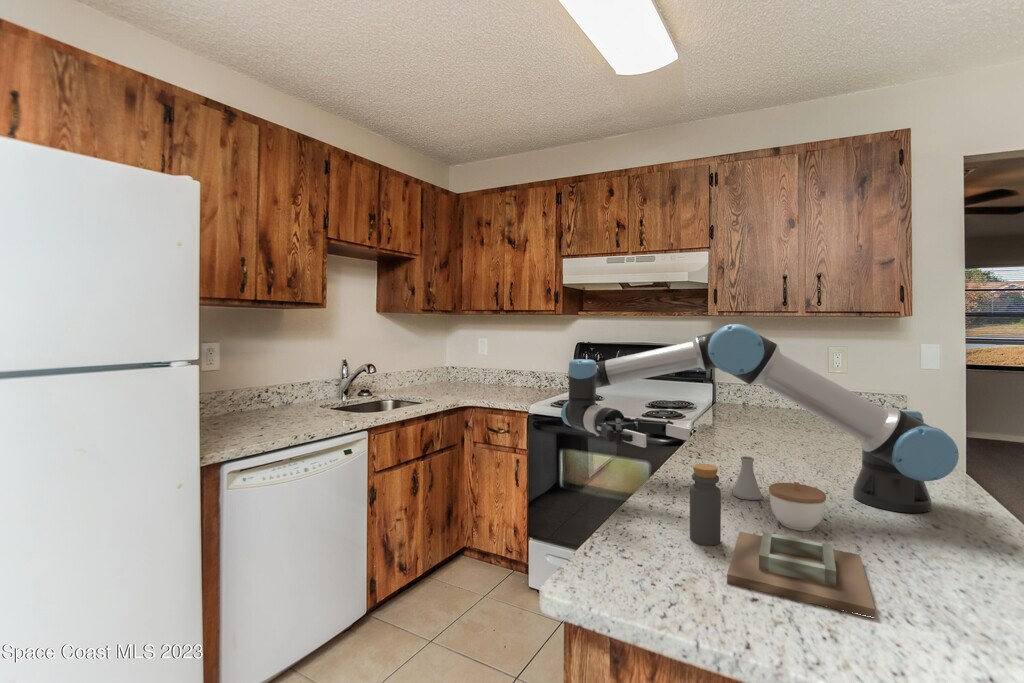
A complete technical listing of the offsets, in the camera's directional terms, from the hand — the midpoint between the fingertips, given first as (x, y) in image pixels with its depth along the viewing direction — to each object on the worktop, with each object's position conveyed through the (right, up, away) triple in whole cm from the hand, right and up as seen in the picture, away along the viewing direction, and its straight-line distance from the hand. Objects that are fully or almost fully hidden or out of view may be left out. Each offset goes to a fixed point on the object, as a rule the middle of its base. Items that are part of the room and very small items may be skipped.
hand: (667, 437), depth 106 cm
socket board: (+15, -19, -22) cm, 33 cm away
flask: (+26, -19, +18) cm, 37 cm away
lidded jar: (+28, -19, -1) cm, 34 cm away
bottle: (+5, -19, -8) cm, 22 cm away
